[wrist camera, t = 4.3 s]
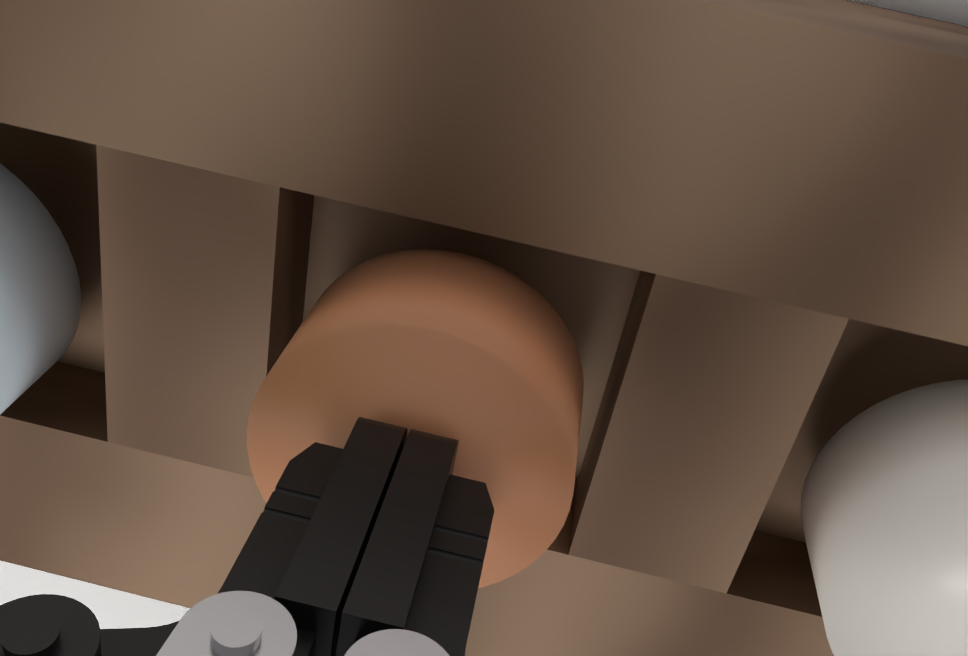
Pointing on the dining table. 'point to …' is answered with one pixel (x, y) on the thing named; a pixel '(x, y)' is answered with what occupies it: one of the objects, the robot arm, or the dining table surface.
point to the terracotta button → (437, 386)
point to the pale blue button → (32, 290)
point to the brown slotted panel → (506, 243)
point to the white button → (893, 526)
